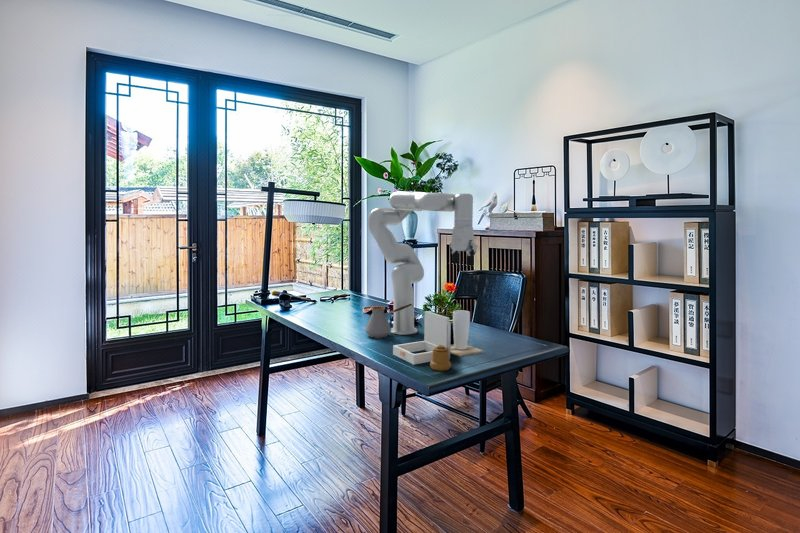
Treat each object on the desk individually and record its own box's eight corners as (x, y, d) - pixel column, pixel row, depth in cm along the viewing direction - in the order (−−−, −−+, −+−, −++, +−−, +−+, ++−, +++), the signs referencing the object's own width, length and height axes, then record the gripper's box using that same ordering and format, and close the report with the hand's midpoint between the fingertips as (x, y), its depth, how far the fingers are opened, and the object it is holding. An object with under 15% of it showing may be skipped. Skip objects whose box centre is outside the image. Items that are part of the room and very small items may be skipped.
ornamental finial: (455, 368, 166) (439, 372, 162) (441, 363, 172) (425, 367, 168) (455, 346, 166) (439, 350, 161) (441, 342, 172) (425, 345, 167)
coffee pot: (363, 339, 207) (363, 305, 206) (367, 332, 218) (367, 300, 217) (412, 340, 205) (412, 306, 204) (413, 333, 217) (413, 301, 215)
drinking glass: (460, 351, 185) (461, 313, 184) (448, 347, 191) (449, 311, 189) (472, 349, 189) (473, 312, 188) (461, 345, 195) (461, 309, 193)
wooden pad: (438, 348, 193) (438, 346, 193) (462, 344, 199) (462, 342, 199) (459, 356, 181) (459, 355, 181) (484, 352, 187) (484, 350, 187)
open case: (392, 354, 183) (392, 315, 182) (426, 348, 192) (427, 311, 190) (414, 365, 169) (414, 323, 168) (451, 359, 178) (451, 318, 176)
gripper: (443, 223, 203) (443, 263, 205) (469, 223, 188) (468, 266, 190) (457, 223, 207) (457, 262, 208) (484, 223, 192) (483, 265, 194)
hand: (462, 264), depth 199 cm, fingers open, 9 cm apart
